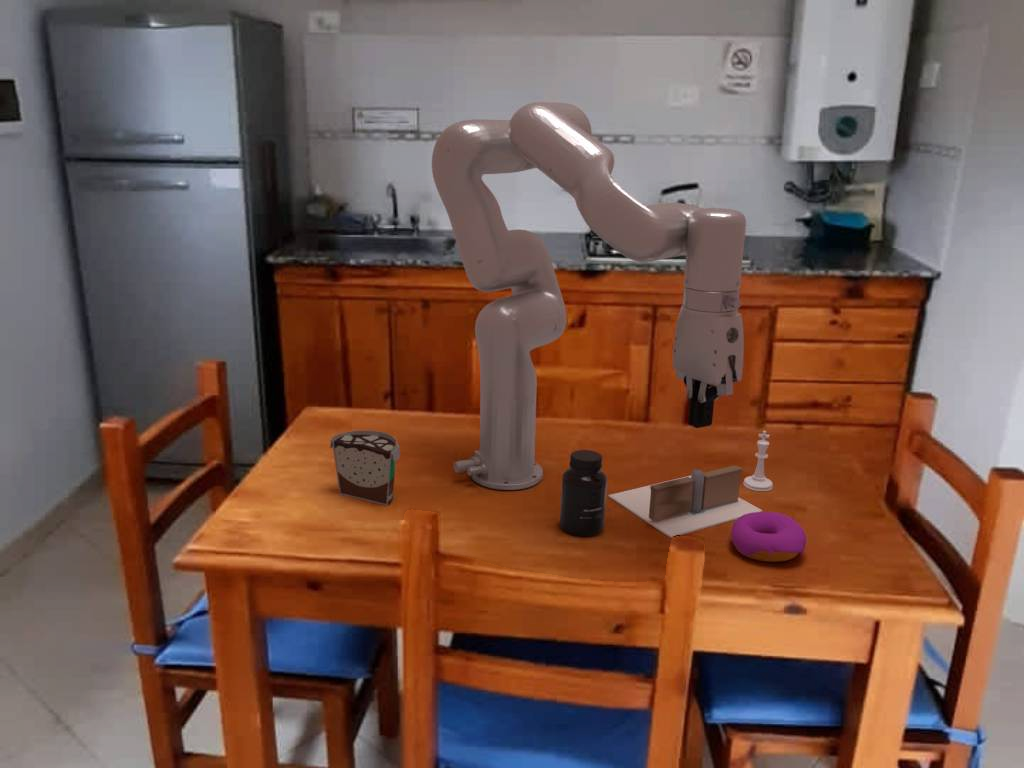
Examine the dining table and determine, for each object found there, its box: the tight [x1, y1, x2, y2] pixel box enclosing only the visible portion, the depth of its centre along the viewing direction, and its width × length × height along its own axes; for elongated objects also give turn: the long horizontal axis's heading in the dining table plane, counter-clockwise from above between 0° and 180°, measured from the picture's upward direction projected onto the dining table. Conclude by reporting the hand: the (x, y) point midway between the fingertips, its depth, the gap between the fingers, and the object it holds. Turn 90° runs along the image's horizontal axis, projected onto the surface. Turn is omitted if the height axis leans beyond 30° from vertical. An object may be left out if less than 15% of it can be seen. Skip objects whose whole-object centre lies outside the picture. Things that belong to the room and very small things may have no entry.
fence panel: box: [649, 476, 695, 521], centre depth 132 cm, size 8×2×5 cm, turn 119°
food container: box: [329, 429, 401, 506], centre depth 138 cm, size 12×6×10 cm, turn 65°
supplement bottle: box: [559, 449, 608, 538], centre depth 128 cm, size 7×7×12 cm
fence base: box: [607, 464, 764, 539], centre depth 137 cm, size 19×16×7 cm
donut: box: [730, 511, 807, 563], centre depth 124 cm, size 11×10×5 cm
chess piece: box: [742, 430, 774, 492], centre depth 144 cm, size 5×5×10 cm
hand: (699, 424), depth 122 cm, fingers closed
